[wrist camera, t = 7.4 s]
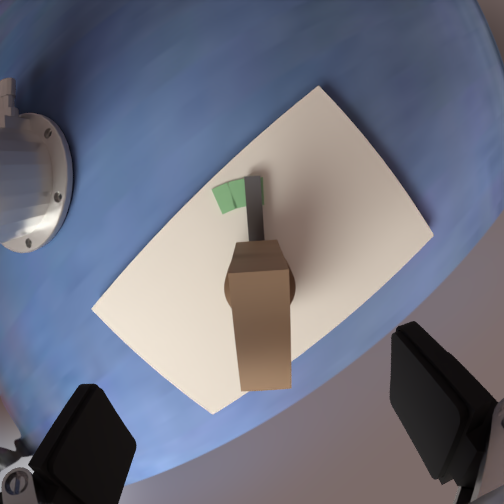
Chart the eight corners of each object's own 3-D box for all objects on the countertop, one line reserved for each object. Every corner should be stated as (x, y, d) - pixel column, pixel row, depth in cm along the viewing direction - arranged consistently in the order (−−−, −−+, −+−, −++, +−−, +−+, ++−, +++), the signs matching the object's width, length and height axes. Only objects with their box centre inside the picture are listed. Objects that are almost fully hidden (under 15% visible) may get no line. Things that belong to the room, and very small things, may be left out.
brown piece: (292, 314, 21) (311, 386, 13) (231, 319, 21) (220, 391, 13) (286, 174, 19) (310, 169, 11) (218, 178, 19) (193, 178, 11)
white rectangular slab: (214, 404, 25) (212, 416, 24) (99, 302, 23) (90, 309, 21) (424, 231, 21) (435, 235, 20) (314, 91, 19) (319, 84, 17)
